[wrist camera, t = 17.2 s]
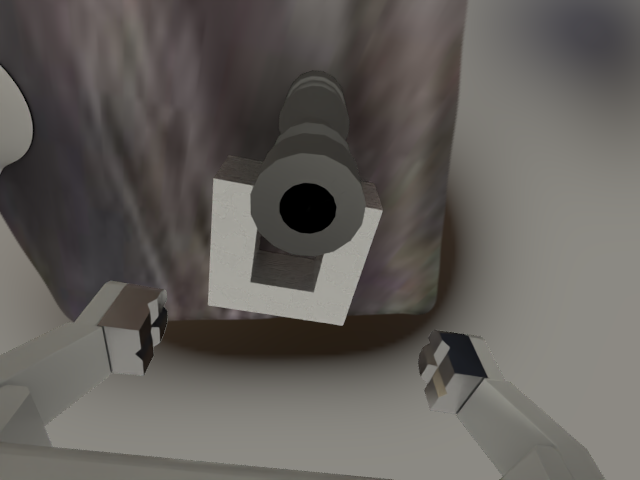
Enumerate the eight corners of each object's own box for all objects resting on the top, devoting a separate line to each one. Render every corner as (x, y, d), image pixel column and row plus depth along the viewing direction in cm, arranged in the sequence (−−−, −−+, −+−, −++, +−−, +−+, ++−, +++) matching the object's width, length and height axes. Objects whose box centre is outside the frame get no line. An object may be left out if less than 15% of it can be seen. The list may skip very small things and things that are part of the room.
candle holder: (276, 89, 37) (217, 185, 16) (327, 58, 36) (336, 121, 15) (304, 139, 40) (286, 276, 19) (353, 113, 39) (390, 231, 18)
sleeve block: (221, 271, 51) (208, 305, 45) (229, 154, 41) (213, 178, 35) (340, 291, 53) (342, 325, 47) (374, 183, 43) (382, 210, 37)
